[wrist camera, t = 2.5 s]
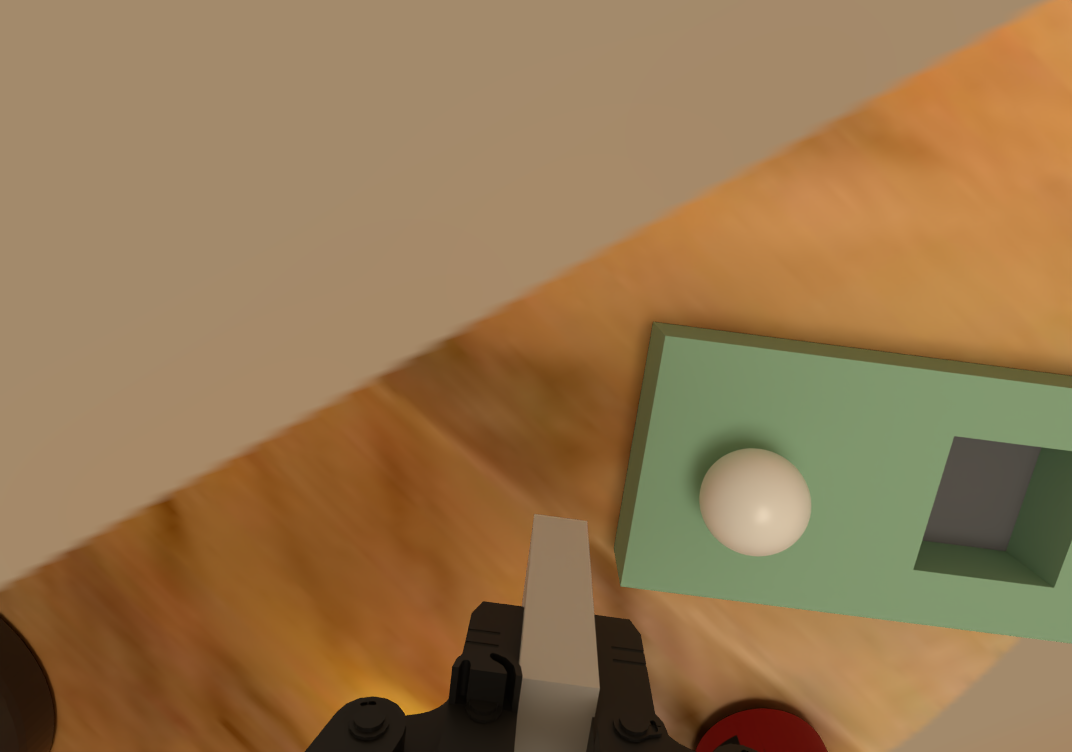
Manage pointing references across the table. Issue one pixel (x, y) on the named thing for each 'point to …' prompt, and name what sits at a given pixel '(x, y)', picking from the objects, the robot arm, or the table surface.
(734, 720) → the beverage can
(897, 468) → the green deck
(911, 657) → the table surface
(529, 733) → the robot arm
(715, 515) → the ball
